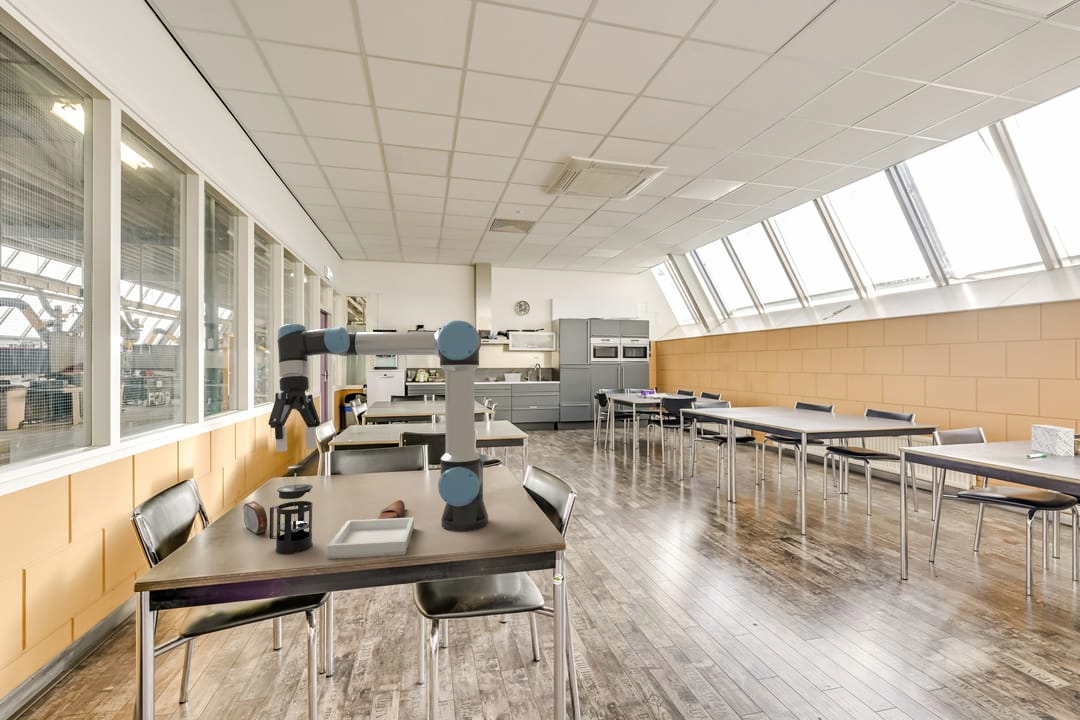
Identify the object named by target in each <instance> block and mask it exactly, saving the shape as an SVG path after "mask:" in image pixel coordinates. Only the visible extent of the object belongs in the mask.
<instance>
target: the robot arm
mask: <svg viewBox="0 0 1080 720" xmlns="http://www.w3.org/2000/svg"><path fill="white" fill-rule="evenodd" d="M276 342H277V348H278V349H277V351H278V367H279V371H278V372H279V373H278V374H279V377H280V379H279V390H280V391H279V392H278V391H276V392H275V396H274V399H275V400H274V403H273V406H272V410H271V412H270V413H271V414H270V415H269V420H268V425H269V426H270V428H271V429H274V438H275V445H276V446H275V449H276V453H281V452H287V451H288V437H287V436H288V432H287V427H286V426H285V425H286V422H287V420H288V419H289V416H290V415H291V412H292V410H296V411H297V412H299V414H300V416H301V418H302V419H303V421H304V423H305V425H306V427H305V443H306V445H305V446H306V451H308V450H309V451H310V450H315V449H317V434H316V433H317V430H316V428H317V427H319V426H320V425H321V421H320V418H319V415H318V412H317V409H316V407H315V403H314V399H313V394H311V393H310V394H306V391H308V390H309V389H310V386H309V377H307V376H308V375H309V368H308V367H309V366H308V365H309V364H308V356H309V357H310V356H317V355H318V356H319V355H335V356H337V355H338V356H340V357H348V356H437V357H438V358H439V367H440V368H441V369H442V370H443V371H444V378H445V379H444V380H445V381H444V382H445V383H444V385H445V386H444V387H445V388H444V389H445V390H444V391H445V392H444V393H445V394H444V395H445V396H444V397H445V399H444V400H445V401H444V402H445V403H444V404H445V405H444V406H445V408H444V409H445V410H444V411H445V414H444V415H445V416H444V417H445V453H444V454H442V456H441V457H440V477H439V479H438V482H437V490H438V493H439V496H440V498H441V499H442V500H443V501H444V502H445V506H444V509H443V513H442V515H441V519H440V521H441V524H440V525H442V526H441V527H442V528H443V527H444V528H443V529H445V528H446V529H445V530H447V529H449V530H448V531H452V530H454V531H453V532H469V531H468V530H471V531H476V530H480V529H483V528H485V527H487V526H488V525H487V524H489V515H488V512H487V508H486V505H485V501H484V463H485V461H484V457H483V454H482V453H481V452H478V453H477V452H476V448H475V446H476V443H475V441H476V437H475V436H476V435H475V426H476V425H475V371H476V370H477V369H478V368H479V367H480V350H481V346H482V338H481V336H480V333H479V332H478V331H477V329H476V327H475V326H474V325H472V324H471V323H470V322H467V321H465V320H453V321H450V322H448V323H446V324H444V326H442V327H441V328H438V330H436V331H393V332H392V331H381V332H380V331H372V332H371V331H367V332H366V331H364V332H363V331H361V332H360V331H356V332H355V331H352V332H351V331H348V330H347V329H346V328H345V327H343V326H339V327H338V326H336V327H334V326H331V327H327V328H319V329H311V330H309V329H308V330H307V329H306V326H305V325H303V324H301V323H300V324H299V323H287V324H283V325H281V326H279V327H278V330H277V341H276ZM486 525H487V526H486ZM484 526H485V527H484ZM482 527H483V528H482ZM479 528H480V529H479ZM475 529H476V530H475Z"/></svg>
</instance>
